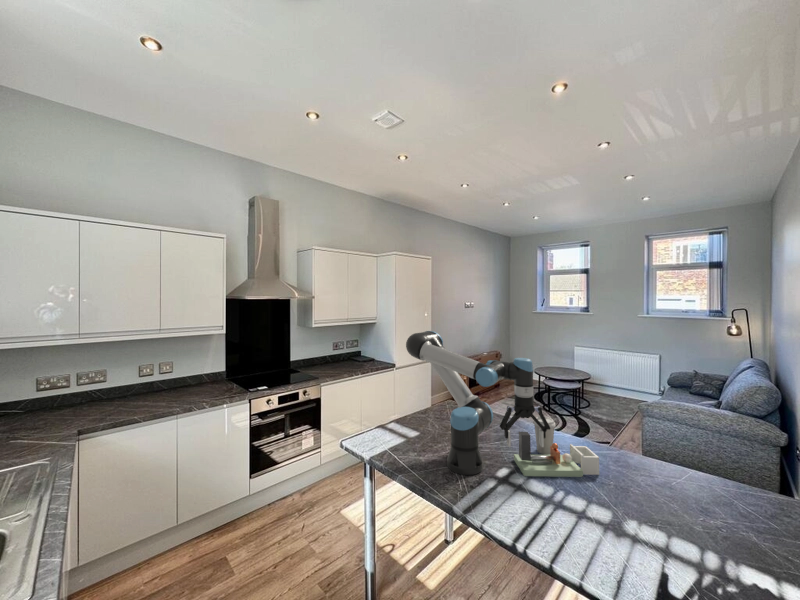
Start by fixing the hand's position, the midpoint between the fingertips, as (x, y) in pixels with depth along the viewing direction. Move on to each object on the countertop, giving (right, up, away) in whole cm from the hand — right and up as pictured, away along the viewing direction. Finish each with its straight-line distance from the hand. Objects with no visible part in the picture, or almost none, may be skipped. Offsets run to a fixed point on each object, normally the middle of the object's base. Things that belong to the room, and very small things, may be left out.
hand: (525, 445), depth 132 cm
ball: (+17, -5, -1) cm, 18 cm away
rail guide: (+6, -7, 0) cm, 9 cm away
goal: (+24, -9, -1) cm, 26 cm away
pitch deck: (+9, -9, 0) cm, 13 cm away
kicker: (+6, -6, 0) cm, 8 cm away
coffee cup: (+15, -9, +14) cm, 22 cm away
